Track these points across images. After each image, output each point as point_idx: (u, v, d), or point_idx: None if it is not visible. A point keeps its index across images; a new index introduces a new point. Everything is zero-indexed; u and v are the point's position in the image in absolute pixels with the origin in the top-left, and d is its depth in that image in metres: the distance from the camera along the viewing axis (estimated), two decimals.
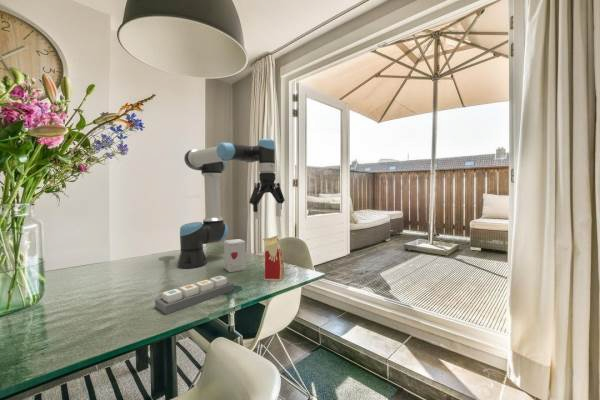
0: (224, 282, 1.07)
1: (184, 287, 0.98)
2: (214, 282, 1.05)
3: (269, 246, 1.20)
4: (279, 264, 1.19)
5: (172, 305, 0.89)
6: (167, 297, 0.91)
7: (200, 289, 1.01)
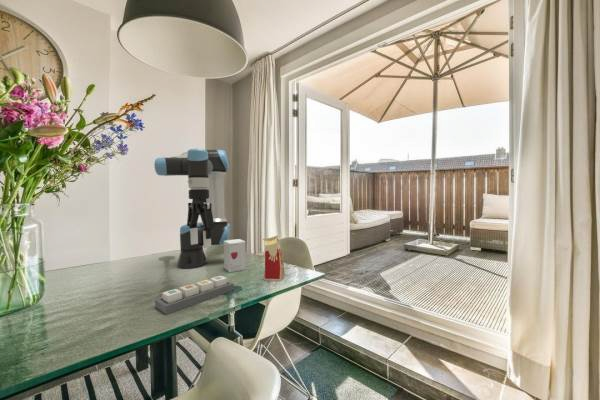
0: (224, 282, 1.07)
1: (184, 287, 0.98)
2: (214, 282, 1.05)
3: (269, 246, 1.20)
4: (279, 264, 1.19)
5: (172, 305, 0.89)
6: (167, 297, 0.91)
7: (200, 289, 1.01)
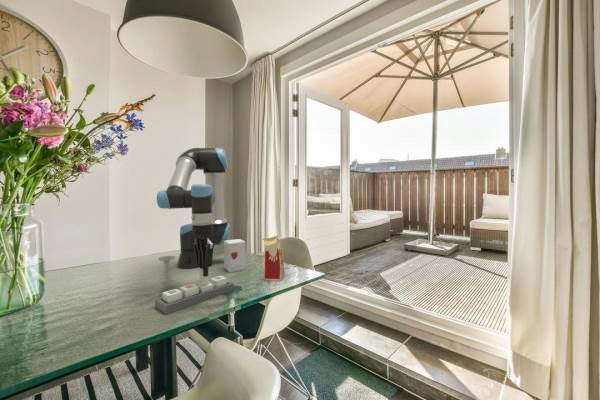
0: (224, 282, 1.07)
1: (184, 287, 0.98)
2: (214, 282, 1.05)
3: (269, 246, 1.20)
4: (279, 264, 1.19)
5: (172, 305, 0.89)
6: (167, 297, 0.91)
7: None
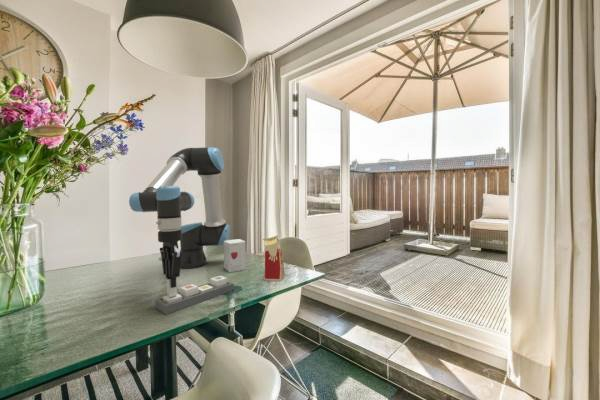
0: (224, 282, 1.07)
1: (184, 287, 0.98)
2: (214, 282, 1.05)
3: (269, 246, 1.20)
4: (279, 264, 1.19)
5: (172, 305, 0.89)
6: (167, 302, 0.91)
7: None
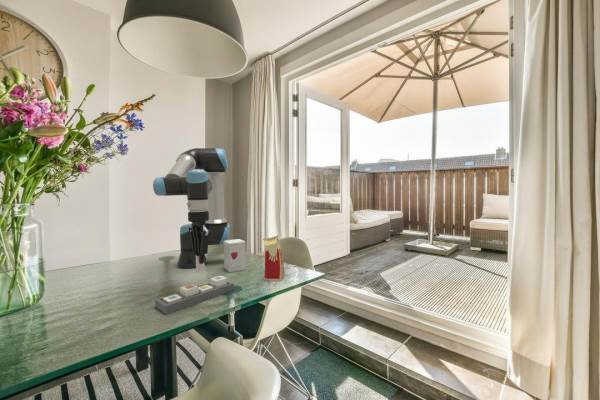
0: (224, 282, 1.07)
1: (184, 287, 0.98)
2: (214, 282, 1.05)
3: (269, 246, 1.20)
4: (279, 264, 1.19)
5: (172, 305, 0.89)
6: (167, 303, 0.91)
7: None
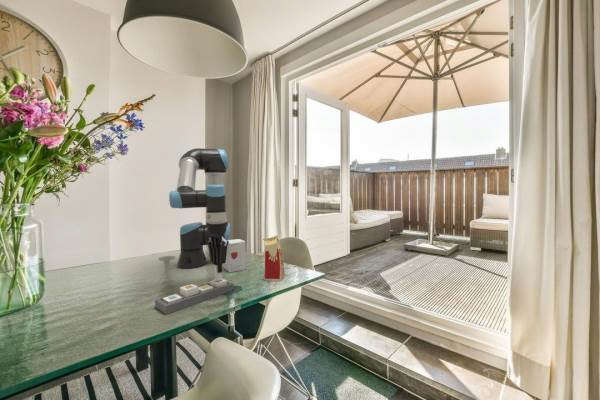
0: (224, 284, 1.07)
1: (184, 287, 0.98)
2: (214, 284, 1.05)
3: (269, 246, 1.20)
4: (279, 264, 1.19)
5: (172, 305, 0.89)
6: (167, 303, 0.91)
7: None
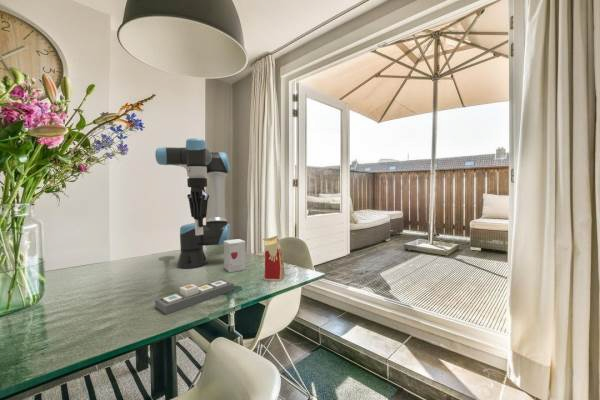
0: None
1: (184, 287, 0.98)
2: None
3: (269, 246, 1.20)
4: (279, 264, 1.19)
5: (172, 305, 0.89)
6: (167, 303, 0.91)
7: None
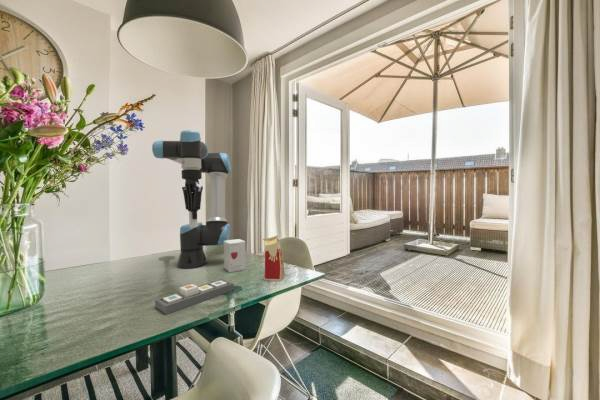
0: None
1: (184, 287, 0.98)
2: None
3: (269, 246, 1.20)
4: (279, 264, 1.19)
5: (172, 305, 0.89)
6: (167, 303, 0.91)
7: None
